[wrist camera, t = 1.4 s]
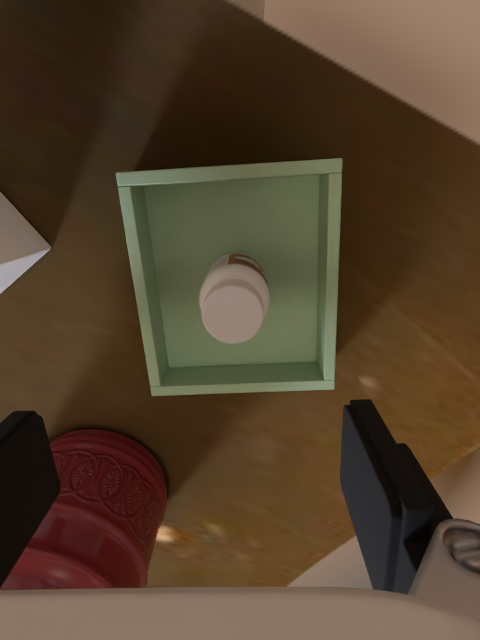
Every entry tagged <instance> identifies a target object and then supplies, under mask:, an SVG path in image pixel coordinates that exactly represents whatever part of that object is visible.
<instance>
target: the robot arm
mask: <svg viewBox="0 0 480 640" xmlns="http://www.w3.org/2000/svg"><path fill="white" fill-rule="evenodd" d="M340 481H341V487H342V491H343V494H344V497H345V501H346V504H347V507H348V510H349V513H350V517H351V520H352V523H353V526H354V529H355V533H356V536H357V539H358V542H359V545H360V548H361V552H362V555H363V558H364V561H365V565H366V568H367V571H368V574H369V577H370V581H371V584H372V587H373V589H359V588H343V587H170V588H96V589H36V590H0V640H480V524H477V523H474V522H472V521H469V520H463V519H453V517H452V516H451V514H450V513H449V511H448V510H447V508H446V506H445V505H444V503H443V502H442V500H441V498H440V497H439V495H438V493H437V492H436V490H435V489H434V487H433V485H432V484H431V482H430V481H429V479H428V477H427V476H426V474H425V473H424V471H423V469H422V468H421V466H420V464H419V463H418V461H417V460H416V458H415V456H414V455H413V453H412V452H411V450H410V449H409V447H408V446H407V445H406V444H404V443H401V444H396V442H395V440H394V438H393V437H392V435H391V433H390V432H389V430H388V428H387V427H386V425H385V423H384V421H383V420H382V418H381V416H380V415H379V413H378V411H377V409H376V408H375V406H374V404H373V403H372V401H371V400H369V399H366V400H351V401H350V405H344V409H343V428H342V448H341V469H340ZM60 488H61V484H60V479H59V476H58V472H57V469H56V465H55V461H54V458H53V454H52V450H51V447H50V443H49V440H48V436H47V432H46V429H45V425H44V421H43V418H42V417H41V416H40V415H38V414H37V413H36V412H35V411H15V412H12V413H11V414H10V415H9V416H8V417H7V418H6V419H4V420H3V421H2V422H1V423H0V588H1V587H2V585H3V583H4V582H5V580H6V579H7V577H8V575H9V574H10V572H11V571H12V569H13V567H14V566H15V564H16V563H17V561H18V559H19V558H20V556H21V555H22V553H23V551H24V550H25V548H26V547H27V545H28V543H29V542H30V540H31V539H32V537H33V535H34V534H35V532H36V531H37V529H38V527H39V526H40V524H41V523H42V521H43V519H44V518H45V516H46V515H47V513H48V511H49V510H50V508H51V507H52V505H53V503H54V502H55V500H56V498H57V497H58V495H59V492H60Z"/></svg>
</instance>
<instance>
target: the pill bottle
mask: <svg viewBox="0 0 480 640" xmlns="http://www.w3.org/2000/svg"><path fill="white" fill-rule="evenodd" d="M199 304H200V309H201V312H202V320H203V324H204V326H205V328H206V329H207V331H208V332H209V333H210V334H211V335H212V336H213V337H214V338H216V339H217V340H219V341H222V342H225V343H230V344H237V343H242V342H245V341H247V340H249V339H251V338H252V337H253V336H255V335H256V334H257V332H258V331H259V330H260V328H261V326H262V323H263V319H264V318H265V316H266V314H267V312H268V309H269V305H270V294H269V288H268V283H267V279H266V274H265V271H264V269H263V267H262V266H261V264H260V263H259V262H258V261H257V260H256V259H255V258H253V257H252V256H250V255H248V254H244V253H229V254H226V255H224V256H222V257H220V258H219V259H217V260H216V261H215V262H214V263H213V265H212V266H211V268H210V270H209V272H208V274H207V276H206V278H205V280H204V282H203V285H202V287H201V290H200V295H199Z"/></svg>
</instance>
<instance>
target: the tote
mask: <svg viewBox="0 0 480 640" xmlns="http://www.w3.org/2000/svg"><path fill="white" fill-rule="evenodd" d="M342 162H343V160H342V158H335V159H319V160H303V161H288V162H272V163H257V164H241V165H225V166H210V167H194V168H178V169H163V170H147V171H131V172H117V173H116V179H117V185H118V186H119V187H118V191H119V198H120V204H121V210H122V216H123V222H124V228H125V234H126V241H127V247H128V253H129V259H130V265H131V271H132V277H133V283H134V290H135V296H136V302H137V308H138V314H139V320H140V326H141V333H142V339H143V345H144V351H145V357H146V363H147V369H148V375H149V382H150V386H151V387H150V388H151V394H152V396H168V395H194V394H221V393H247V392H273V391H299V390H325V389H334V384H335V380H334V379H335V355H336V328H337V300H338V273H339V245H340V218H341V191H342V173H341V172H342ZM229 253H244V254H248V255H250V256H252V257H253V258H255V259H256V260H257V261H258V262H259V263H260V264H261V266H262V267H263V269H264V271H265V274H266V279H267V283H268V288H269V294H270V305H269V309H268V312H267V314H266V316H265V318H264V319H263V323H262V326H261V328H260V330H259V331H258V332H257V334H256V335H255V336H253V337H252V338H251V339H249V340H247V341H245V342H242V343H237V344H230V343H225V342H222V341H219V340H217V339H216V338H214V337H213V336H212V335H211V334H210V333H209V332H208V331H207V329H206V328H205V326H204V324H203V320H202V312H201V309H200V304H199V295H200V290H201V287H202V285H203V282H204V280H205V278H206V276H207V274H208V272H209V270H210V268H211V266H212V265H213V263H214V262H215V261H216V260H217V259H219V258H220V257H222V256H224V255H226V254H229Z"/></svg>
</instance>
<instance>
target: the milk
mask: <svg viewBox="0 0 480 640" xmlns="http://www.w3.org/2000/svg"><path fill="white" fill-rule="evenodd" d="M50 249H51V246H50V245H49V244H48V243H47V242H46V241H45V240H44V239H43V237H42V236H41V235H40V234H39V233H38V232H37V231H36V230H35V229H34V228H33V227H32V225H31V224H30V223H29V222H28V221H27V220H26V219H25V218H24V217H23V216H22V215H21V214H20V212H19V211H18V210H17V209H16V208H15V207H14V206H13V205H12V204H11V203H10V202H9V201H8V199H7V198H6V197H5V196H4V195H3V194H2V193H1V192H0V294H1V293H2V292H3V291H4V290H5V289H6V288H8V287H9V286H10V285H11V284H12V283H13V282H14V281H15V280H17V279H18V278H19V277H20V276H21V275H22V274H23V273H24V272H25V271H27V270H28V269H29V268H30V267H31V266H32V265H33V264H34V263H36V262H37V261H38V260H39V259H40V258H41V257H42V256H43V255H45V254H46V253H47V252H48V251H49V250H50Z"/></svg>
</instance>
